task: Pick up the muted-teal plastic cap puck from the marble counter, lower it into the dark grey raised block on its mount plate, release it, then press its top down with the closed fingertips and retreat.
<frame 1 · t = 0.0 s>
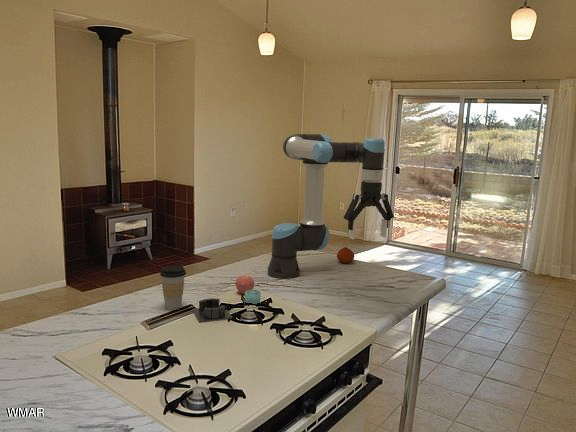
hand: (367, 237, 179), 28 cm above the countertop, fingers open, 13 cm apart
coffee cup: (173, 307, 179), on the countertop
apple: (244, 293, 196), on the countertop
fruit: (345, 263, 246), on the countertop
cap: (252, 304, 184), on the countertop
dark grey raised block: (211, 314, 173), on the countertop
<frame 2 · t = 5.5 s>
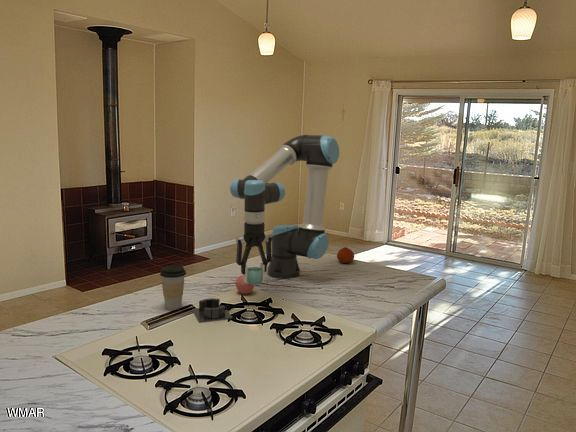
hand: (253, 280, 183), 9 cm above the countertop, fingers closed on cap, 6 cm apart
cap: (253, 281, 183), point 9 cm above the countertop, touching gripper
everything else where it was.
when the fingers open (1 cm above the countertop, at t = 8.6 s): cap stays where it is, resting on dark grey raised block.
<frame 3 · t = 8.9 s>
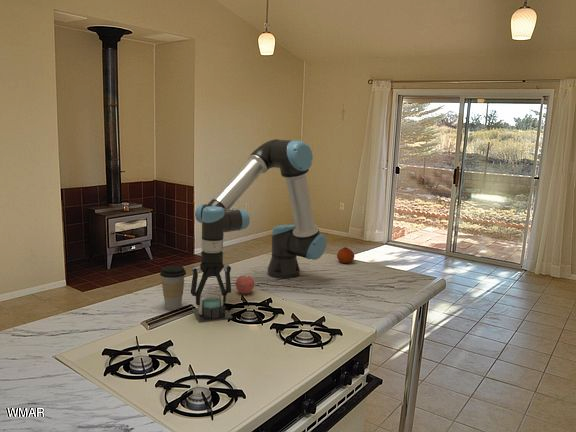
hand: (210, 312, 173), 1 cm above the countertop, fingers open, 7 cm apart
cap: (211, 313, 173), resting on dark grey raised block
everything else where it was.
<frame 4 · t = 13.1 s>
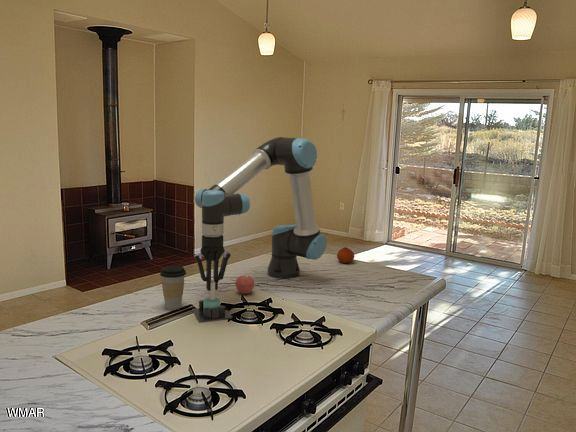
hand: (212, 298, 172), 6 cm above the countertop, fingers closed
cap: (211, 313, 173), resting on dark grey raised block, touching gripper
everything else where it was.
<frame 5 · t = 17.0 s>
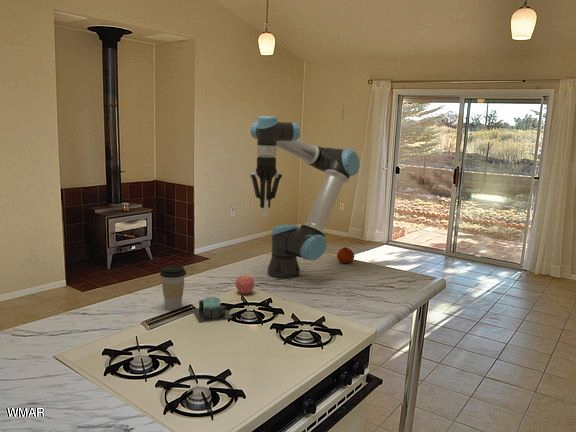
hand: (264, 215, 191), 32 cm above the countertop, fingers closed
cap: (211, 313, 173), resting on dark grey raised block
everything else where it was.
at the end: cap 0.2 cm off-centre on the dark grey raised block, point 0.5 cm above the dark grey raised block's base; cap tilted 0°; the gripper is holding nothing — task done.
